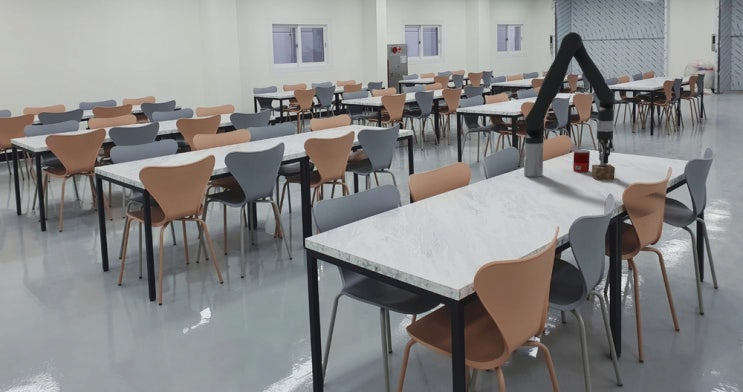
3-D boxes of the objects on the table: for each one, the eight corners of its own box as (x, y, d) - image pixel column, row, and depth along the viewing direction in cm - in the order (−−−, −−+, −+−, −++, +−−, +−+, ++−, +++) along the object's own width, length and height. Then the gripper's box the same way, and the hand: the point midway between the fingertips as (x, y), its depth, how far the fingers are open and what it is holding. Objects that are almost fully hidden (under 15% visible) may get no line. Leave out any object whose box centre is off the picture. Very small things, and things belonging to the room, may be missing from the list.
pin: (600, 176, 324) (601, 152, 321) (599, 175, 327) (600, 151, 324) (606, 176, 324) (607, 152, 321) (605, 175, 327) (606, 151, 324)
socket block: (595, 179, 322) (596, 167, 320) (591, 176, 331) (592, 164, 329) (614, 179, 321) (614, 167, 319) (609, 175, 329) (610, 164, 328)
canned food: (590, 172, 341) (591, 151, 338) (575, 172, 341) (576, 152, 338) (586, 169, 348) (587, 149, 346) (571, 170, 348) (572, 149, 346)
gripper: (593, 128, 327) (592, 159, 331) (600, 131, 314) (598, 164, 317) (609, 127, 327) (607, 159, 330) (616, 131, 313) (614, 164, 316)
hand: (603, 162), depth 324 cm, fingers open, 8 cm apart
